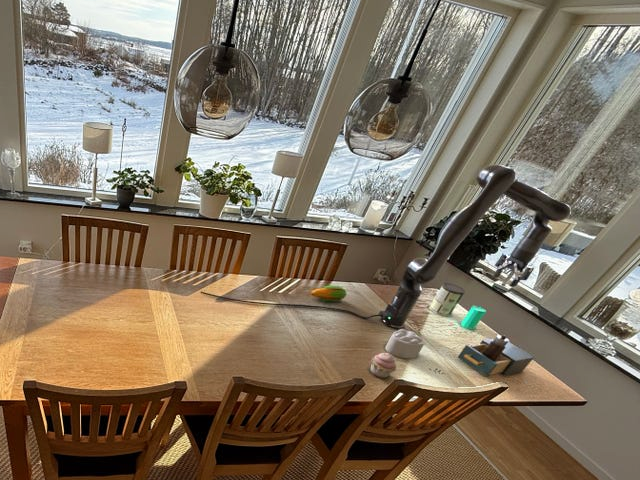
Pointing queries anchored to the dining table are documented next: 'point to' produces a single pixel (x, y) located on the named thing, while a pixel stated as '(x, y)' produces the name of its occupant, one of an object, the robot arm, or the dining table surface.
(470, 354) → the drawer
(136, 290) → the dining table surface
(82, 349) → the dining table surface
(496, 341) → the pepper mill
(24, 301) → the dining table surface
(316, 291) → the corn
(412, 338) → the lumpy-topped squat cylinder
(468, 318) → the candle
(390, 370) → the cupcake
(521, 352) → the cabinet
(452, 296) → the coffee can
